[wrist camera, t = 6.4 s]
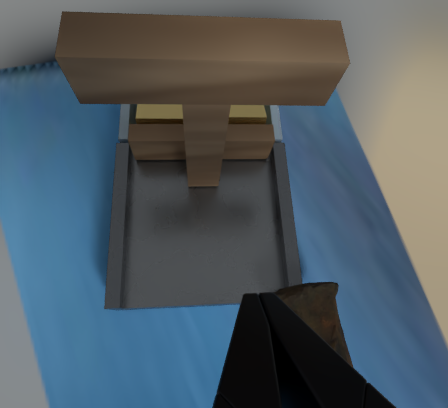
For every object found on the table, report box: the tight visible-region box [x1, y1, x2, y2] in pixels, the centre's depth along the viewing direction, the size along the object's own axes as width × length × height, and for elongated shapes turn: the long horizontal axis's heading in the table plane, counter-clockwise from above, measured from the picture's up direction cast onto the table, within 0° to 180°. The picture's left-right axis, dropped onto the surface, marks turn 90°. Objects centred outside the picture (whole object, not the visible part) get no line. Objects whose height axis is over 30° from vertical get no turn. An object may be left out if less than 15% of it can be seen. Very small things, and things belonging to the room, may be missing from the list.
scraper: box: [55, 12, 350, 187], centre depth 17 cm, size 3×10×11 cm, turn 93°
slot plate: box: [104, 143, 302, 310], centre depth 21 cm, size 10×11×3 cm
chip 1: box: [135, 104, 183, 124], centre depth 23 cm, size 4×4×3 cm
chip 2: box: [228, 105, 267, 124], centre depth 23 cm, size 4×4×3 cm
